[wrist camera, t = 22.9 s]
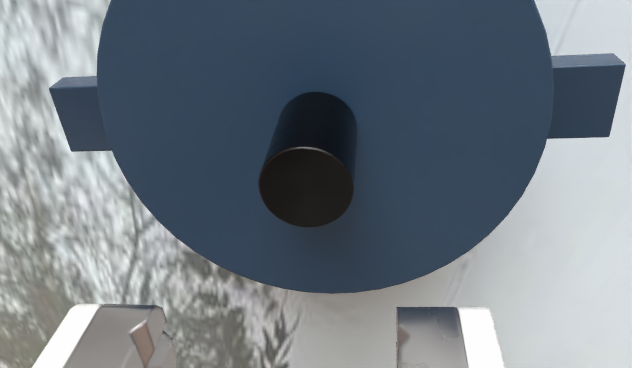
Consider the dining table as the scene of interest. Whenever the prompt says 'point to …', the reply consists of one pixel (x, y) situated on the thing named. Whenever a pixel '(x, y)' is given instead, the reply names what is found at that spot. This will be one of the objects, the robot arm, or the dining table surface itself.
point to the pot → (567, 122)
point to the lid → (326, 129)
